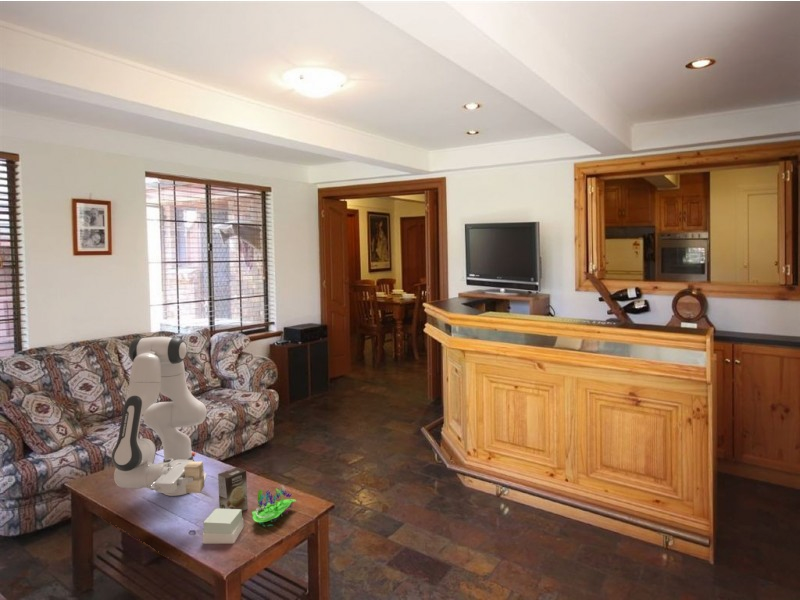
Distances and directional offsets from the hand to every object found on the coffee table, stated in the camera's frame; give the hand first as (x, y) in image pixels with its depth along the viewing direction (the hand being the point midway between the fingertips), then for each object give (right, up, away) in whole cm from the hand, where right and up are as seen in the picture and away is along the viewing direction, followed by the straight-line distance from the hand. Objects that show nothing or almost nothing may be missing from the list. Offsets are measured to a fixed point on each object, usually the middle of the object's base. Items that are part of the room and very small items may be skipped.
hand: (196, 475), depth 201 cm
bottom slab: (+11, -21, -4) cm, 24 cm away
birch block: (-1, -6, +1) cm, 6 cm away
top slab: (+11, -17, -4) cm, 21 cm away
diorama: (+27, -19, +8) cm, 34 cm away
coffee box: (+10, -19, +14) cm, 25 cm away
